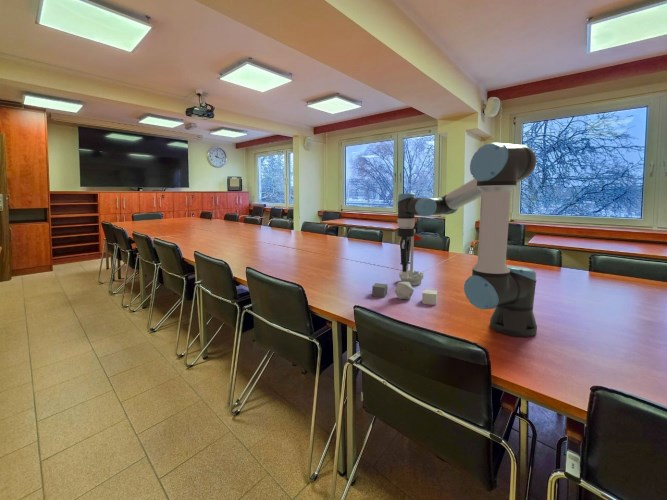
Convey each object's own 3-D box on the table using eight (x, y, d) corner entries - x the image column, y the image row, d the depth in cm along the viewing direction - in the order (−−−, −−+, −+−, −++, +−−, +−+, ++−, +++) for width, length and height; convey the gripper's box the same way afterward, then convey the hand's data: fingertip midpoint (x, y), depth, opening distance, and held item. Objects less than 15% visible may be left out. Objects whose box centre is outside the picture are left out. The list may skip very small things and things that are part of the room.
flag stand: (397, 284, 180) (399, 229, 175) (400, 278, 192) (401, 227, 187) (422, 286, 176) (424, 230, 171) (423, 280, 189) (425, 227, 183)
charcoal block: (384, 297, 159) (384, 287, 158) (372, 296, 162) (372, 286, 161) (387, 294, 165) (387, 284, 164) (375, 292, 167) (375, 283, 166)
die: (409, 303, 152) (419, 285, 153) (392, 294, 152) (402, 276, 154) (405, 304, 160) (414, 287, 161) (389, 295, 160) (399, 278, 162)
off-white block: (435, 305, 148) (436, 294, 147) (422, 303, 150) (422, 293, 149) (437, 301, 154) (437, 290, 153) (423, 299, 156) (424, 289, 155)
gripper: (400, 226, 159) (400, 274, 163) (394, 228, 147) (393, 280, 151) (416, 226, 156) (415, 275, 160) (411, 229, 144) (410, 282, 148)
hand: (404, 277), depth 155 cm, fingers closed
